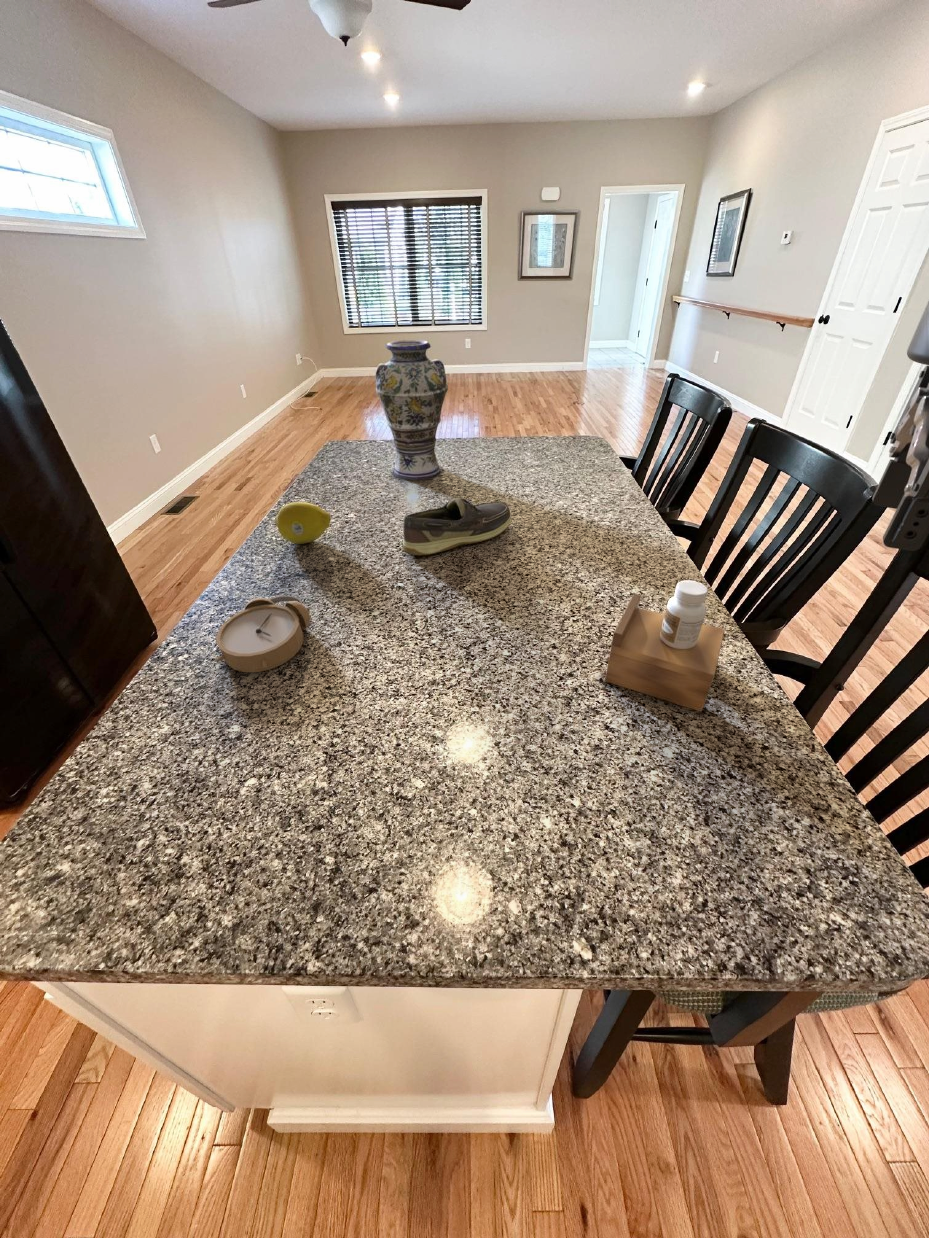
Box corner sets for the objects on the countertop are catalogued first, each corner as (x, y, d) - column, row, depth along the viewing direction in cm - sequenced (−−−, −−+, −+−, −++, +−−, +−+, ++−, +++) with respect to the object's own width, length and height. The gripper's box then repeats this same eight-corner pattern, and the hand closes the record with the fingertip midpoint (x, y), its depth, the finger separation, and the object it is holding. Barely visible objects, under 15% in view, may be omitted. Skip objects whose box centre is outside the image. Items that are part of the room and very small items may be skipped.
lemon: (271, 548, 100) (261, 509, 95) (290, 530, 106) (282, 494, 102) (323, 552, 98) (316, 513, 93) (339, 534, 104) (333, 497, 100)
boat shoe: (522, 528, 106) (524, 490, 101) (423, 567, 93) (420, 526, 88) (492, 514, 111) (493, 478, 107) (395, 549, 99) (391, 510, 94)
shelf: (712, 664, 70) (729, 616, 65) (701, 712, 63) (719, 661, 58) (624, 639, 74) (633, 593, 70) (604, 681, 67) (613, 632, 63)
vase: (457, 479, 129) (453, 345, 112) (388, 486, 126) (374, 349, 109) (444, 459, 142) (439, 336, 125) (381, 464, 139) (368, 340, 122)
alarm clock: (198, 653, 69) (251, 580, 79) (212, 675, 72) (262, 603, 83) (274, 662, 67) (319, 586, 77) (285, 685, 70) (327, 610, 81)
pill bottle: (655, 629, 66) (667, 577, 62) (689, 629, 66) (704, 577, 62) (664, 650, 63) (678, 597, 58) (701, 650, 63) (718, 597, 58)
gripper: (1163, 282, 24) (973, 577, 34) (1059, 273, 34) (935, 501, 44) (963, 282, 27) (839, 553, 37) (921, 273, 37) (833, 487, 47)
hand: (891, 524), depth 40 cm, fingers open, 8 cm apart
